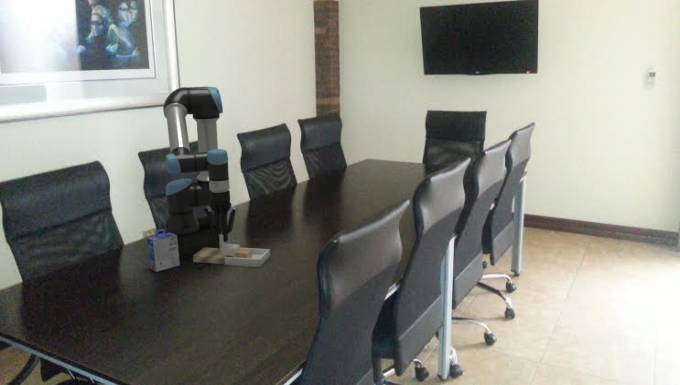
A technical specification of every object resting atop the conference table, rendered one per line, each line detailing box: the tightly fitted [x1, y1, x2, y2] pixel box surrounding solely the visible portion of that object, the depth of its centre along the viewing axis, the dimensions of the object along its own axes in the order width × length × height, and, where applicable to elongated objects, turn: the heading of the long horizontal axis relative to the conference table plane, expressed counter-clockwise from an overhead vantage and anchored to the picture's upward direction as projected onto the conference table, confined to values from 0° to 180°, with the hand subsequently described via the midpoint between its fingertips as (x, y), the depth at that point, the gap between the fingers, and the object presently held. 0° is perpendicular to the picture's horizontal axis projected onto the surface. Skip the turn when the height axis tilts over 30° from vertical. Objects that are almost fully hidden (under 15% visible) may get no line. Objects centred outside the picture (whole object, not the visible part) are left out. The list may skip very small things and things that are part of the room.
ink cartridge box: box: [146, 228, 180, 273], centre depth 208 cm, size 10×6×14 cm, turn 134°
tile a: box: [222, 243, 241, 256], centre depth 216 cm, size 5×5×3 cm
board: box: [192, 247, 232, 265], centre depth 218 cm, size 13×10×2 cm
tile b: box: [235, 249, 252, 258], centre depth 215 cm, size 5×5×3 cm
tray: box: [224, 247, 271, 268], centre depth 215 cm, size 14×12×3 cm
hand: (223, 249), depth 217 cm, fingers closed
